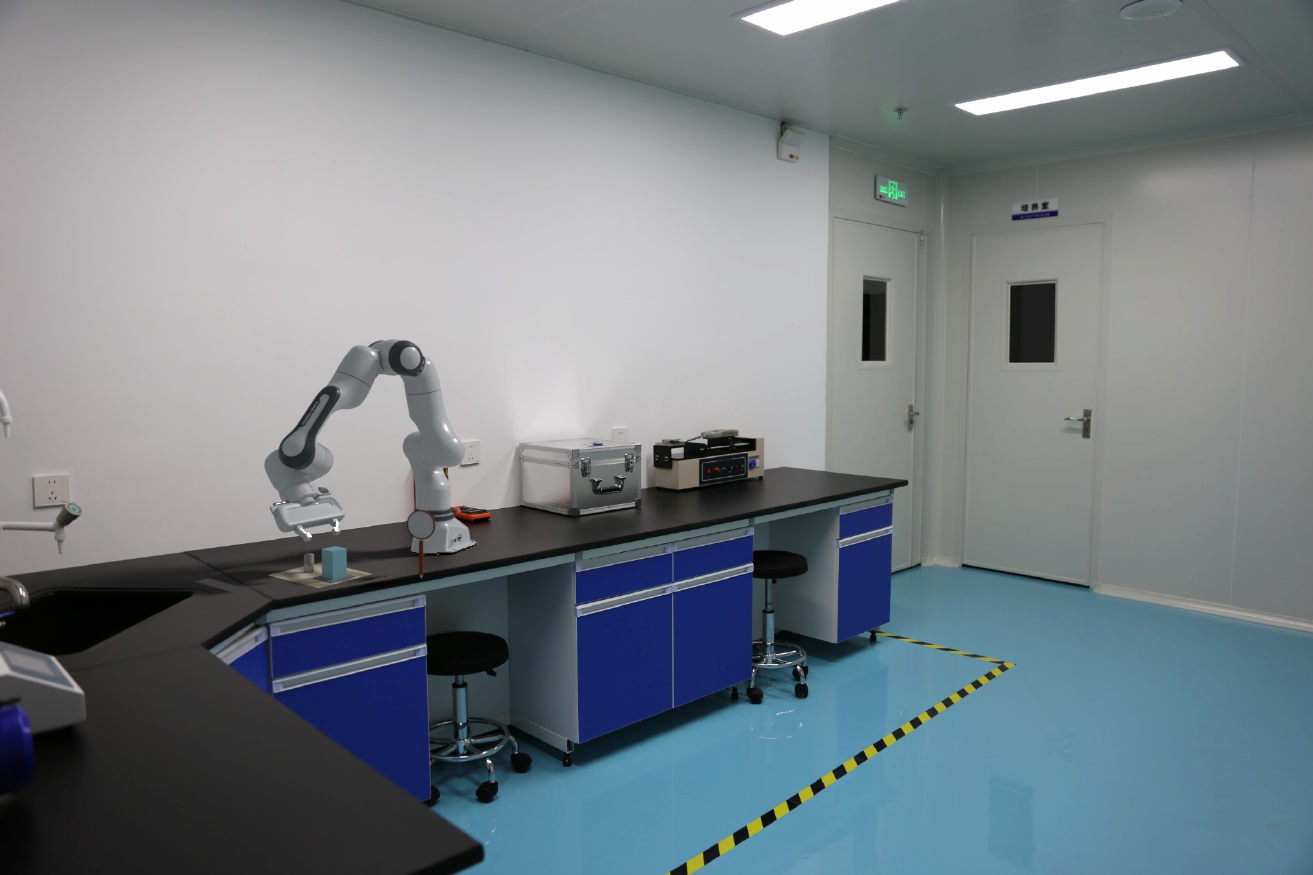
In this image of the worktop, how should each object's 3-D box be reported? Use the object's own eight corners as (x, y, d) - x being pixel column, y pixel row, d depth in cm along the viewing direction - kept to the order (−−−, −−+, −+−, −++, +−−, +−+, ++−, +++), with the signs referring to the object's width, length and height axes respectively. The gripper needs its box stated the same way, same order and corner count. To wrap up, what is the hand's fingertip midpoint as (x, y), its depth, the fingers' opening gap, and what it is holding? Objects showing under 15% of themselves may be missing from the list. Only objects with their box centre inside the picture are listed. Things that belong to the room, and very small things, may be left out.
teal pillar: (336, 573, 239) (335, 546, 238) (346, 576, 236) (346, 548, 235) (322, 577, 235) (321, 549, 234) (332, 579, 232) (332, 551, 231)
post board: (322, 567, 252) (322, 545, 251) (372, 579, 241) (372, 556, 240) (267, 580, 237) (267, 557, 236) (318, 593, 225) (318, 569, 225)
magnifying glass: (405, 577, 243) (405, 509, 241) (408, 576, 245) (408, 508, 243) (433, 579, 242) (433, 511, 240) (436, 578, 243) (436, 510, 241)
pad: (337, 572, 241) (337, 571, 241) (355, 577, 237) (355, 575, 237) (312, 578, 234) (312, 577, 234) (331, 583, 230) (331, 582, 230)
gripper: (272, 497, 231) (295, 536, 227) (334, 487, 248) (357, 524, 244) (262, 511, 233) (285, 550, 229) (325, 500, 251) (347, 537, 247)
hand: (323, 536), depth 237 cm, fingers open, 8 cm apart
